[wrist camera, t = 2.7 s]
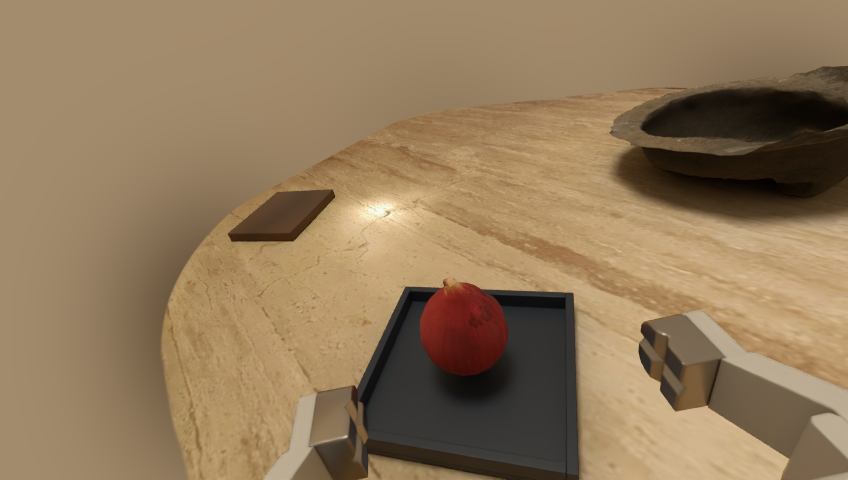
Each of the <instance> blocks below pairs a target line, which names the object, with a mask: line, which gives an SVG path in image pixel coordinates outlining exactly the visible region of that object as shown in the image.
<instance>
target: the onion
mask: <svg viewBox="0 0 848 480" xmlns="http://www.w3.org/2000/svg"><path fill="white" fill-rule="evenodd" d="M443 284H444V287H443V288H441V289H439V290H438V291H437V292H436V293H435V294H434V295H433V296H432V297H431V298H430V299H429V301H428V302H427V304H426V306H425V309H424V311H423V313H422V316H421V320H420V333H421V343H422V345H423V347H424V349H425V351H426V353H427V354H428V356H429V357H430V359H431V361H432V362H433V363H435V364H436V365H438V366H439V367H441V368H442V369H444V370H445V371H447V372H449V373H452V374H456V375H460V376H469V375H477V374H479V373H481V372H483V371H486V370H488V369H489V368H490V367H491V366H492V365H493V364H494V363H495V362H496V361H497V360H498V359H499V358H500V356H501V355H502V353H503V351H504V349H505V346H506V343H507V340H508V327H507V324H506V320H505V317H504V314H503V310H502V307H501V306H500V304H499V303H498V301H497V300H496V299H495V298H494V297H493V296H491V295H490V294H488V293H487V292H485V291H483V290H482V289H480V288H478V287H477V286H475V285H472V284H469V283H459V282H457V281H456V280H455V279H452V278H448V279H445V280H444V281H443Z"/></svg>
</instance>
